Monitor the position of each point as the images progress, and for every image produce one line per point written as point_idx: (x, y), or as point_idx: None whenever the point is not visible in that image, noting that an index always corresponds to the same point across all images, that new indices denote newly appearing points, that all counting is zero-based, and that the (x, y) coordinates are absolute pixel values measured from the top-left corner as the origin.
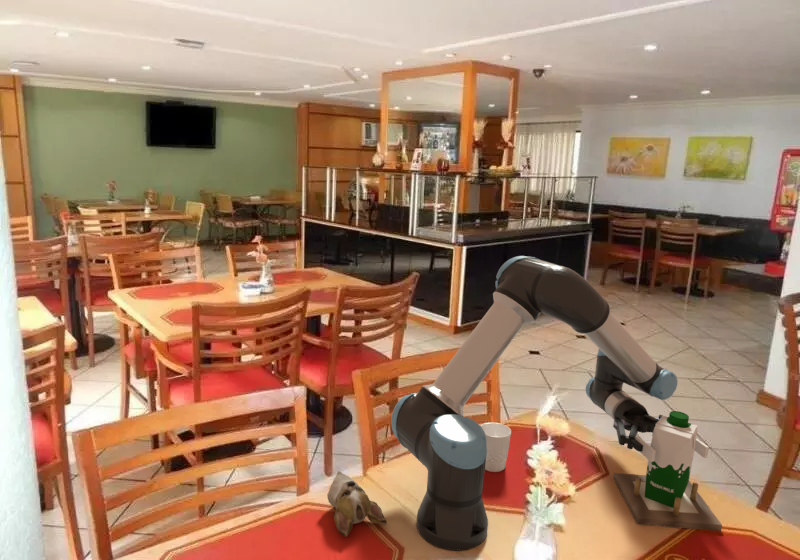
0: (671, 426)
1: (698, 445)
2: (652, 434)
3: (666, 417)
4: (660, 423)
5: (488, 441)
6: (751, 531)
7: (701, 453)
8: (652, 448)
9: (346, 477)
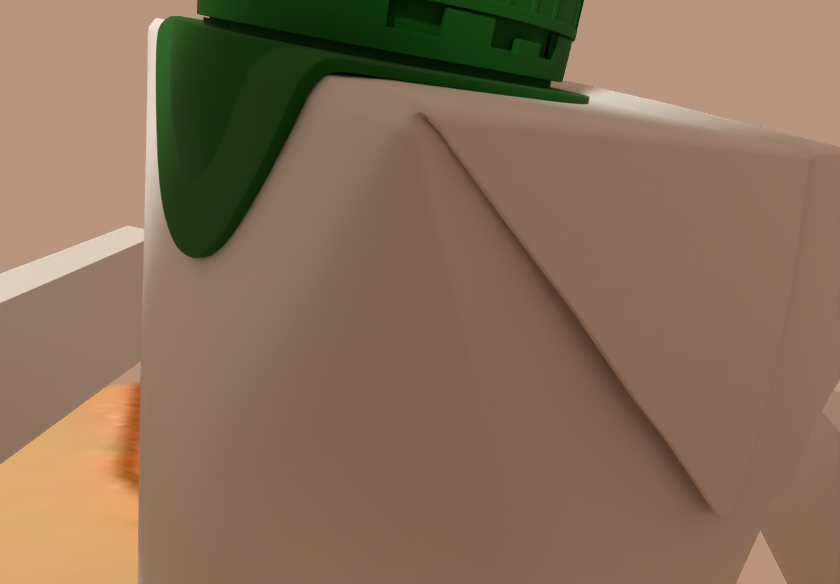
0: (623, 93)
1: (84, 312)
2: (798, 453)
3: (406, 86)
4: (793, 136)
5: None
6: (134, 471)
7: (132, 344)
8: (828, 411)
9: None
